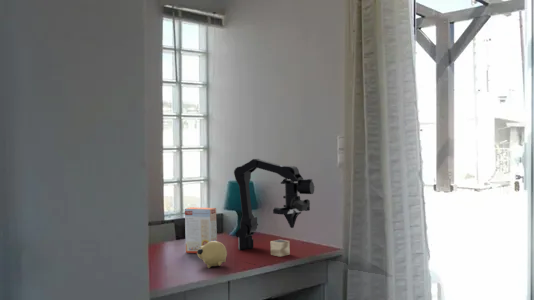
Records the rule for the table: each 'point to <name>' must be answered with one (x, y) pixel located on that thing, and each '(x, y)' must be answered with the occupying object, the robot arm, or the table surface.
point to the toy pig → (212, 253)
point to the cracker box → (199, 227)
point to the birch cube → (280, 248)
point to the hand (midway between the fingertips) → (292, 227)
